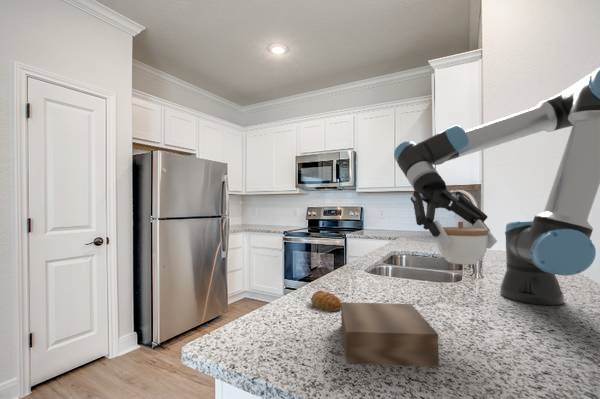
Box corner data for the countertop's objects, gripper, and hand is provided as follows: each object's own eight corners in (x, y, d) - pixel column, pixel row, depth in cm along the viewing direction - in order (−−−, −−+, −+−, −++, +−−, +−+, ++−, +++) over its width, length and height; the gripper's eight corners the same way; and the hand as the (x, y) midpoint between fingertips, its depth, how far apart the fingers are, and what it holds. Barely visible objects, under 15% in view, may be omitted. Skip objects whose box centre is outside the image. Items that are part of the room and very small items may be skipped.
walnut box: (411, 330, 67) (411, 303, 67) (438, 368, 51) (438, 334, 51) (341, 328, 68) (341, 302, 69) (346, 365, 53) (346, 331, 53)
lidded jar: (497, 267, 61) (496, 223, 62) (442, 266, 64) (442, 222, 64) (477, 258, 72) (477, 220, 72) (431, 257, 74) (430, 220, 74)
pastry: (348, 309, 81) (348, 295, 81) (330, 315, 77) (330, 300, 77) (325, 300, 88) (325, 288, 88) (308, 305, 84) (307, 292, 84)
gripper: (456, 191, 85) (504, 253, 70) (382, 191, 81) (416, 257, 65) (469, 171, 80) (524, 233, 65) (392, 170, 76) (431, 236, 60)
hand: (470, 245), depth 65 cm, fingers closed on lidded jar, 11 cm apart
